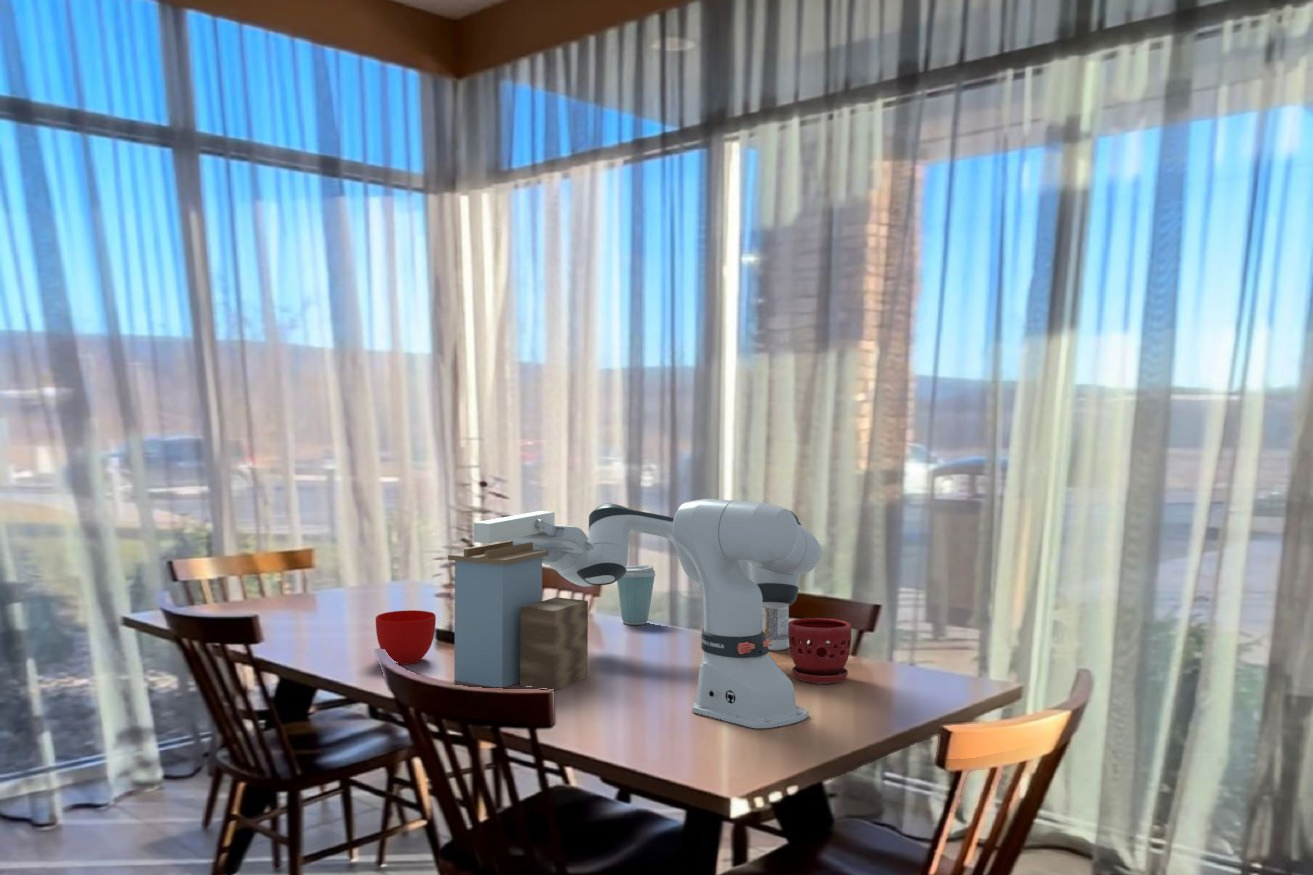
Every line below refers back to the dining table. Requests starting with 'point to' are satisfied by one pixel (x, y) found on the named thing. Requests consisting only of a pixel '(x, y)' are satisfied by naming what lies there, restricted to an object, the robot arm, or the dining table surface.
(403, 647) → the ceramic cup
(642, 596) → the disposable coffee cup
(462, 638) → the cabinet
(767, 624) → the bath foam
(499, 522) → the white beam
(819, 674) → the plant pot
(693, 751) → the dining table surface
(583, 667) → the walnut block
